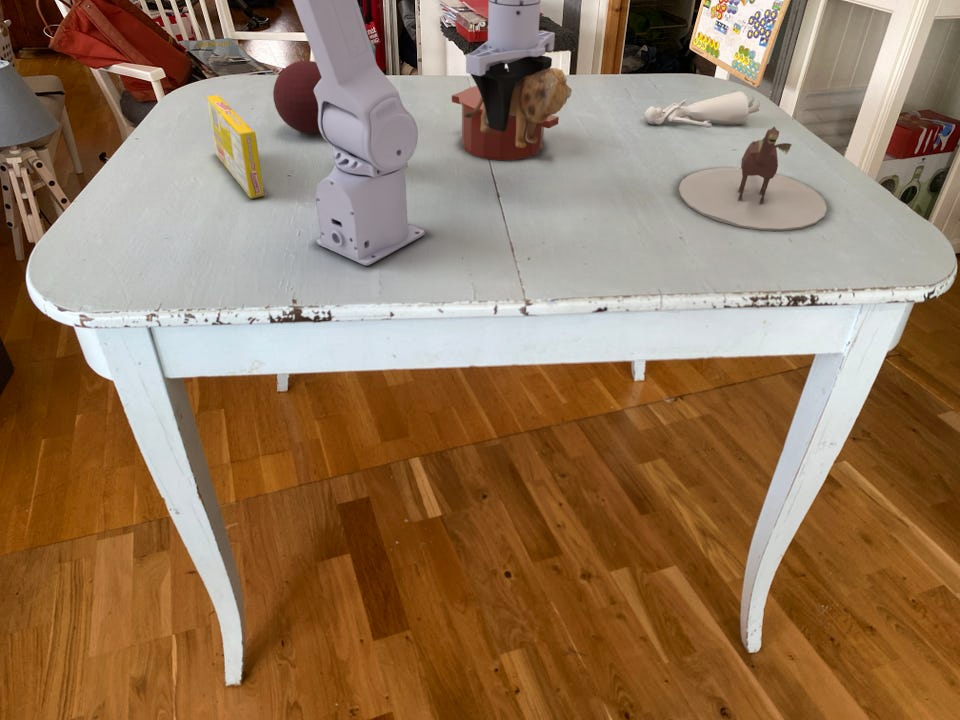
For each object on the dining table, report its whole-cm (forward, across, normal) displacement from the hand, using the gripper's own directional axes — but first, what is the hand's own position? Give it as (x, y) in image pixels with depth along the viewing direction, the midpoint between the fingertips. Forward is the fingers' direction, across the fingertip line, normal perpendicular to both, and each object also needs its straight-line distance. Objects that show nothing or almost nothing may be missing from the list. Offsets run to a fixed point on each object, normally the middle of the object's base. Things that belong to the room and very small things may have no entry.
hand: (509, 123), depth 86 cm
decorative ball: (+9, -2, +34) cm, 36 cm away
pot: (+8, +12, +9) cm, 17 cm away
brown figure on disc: (+9, +18, -26) cm, 32 cm away
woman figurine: (+9, +40, -8) cm, 42 cm away
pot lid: (+2, +12, +9) cm, 15 cm away
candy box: (+9, -19, +29) cm, 36 cm away
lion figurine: (+2, 0, -1) cm, 2 cm away
